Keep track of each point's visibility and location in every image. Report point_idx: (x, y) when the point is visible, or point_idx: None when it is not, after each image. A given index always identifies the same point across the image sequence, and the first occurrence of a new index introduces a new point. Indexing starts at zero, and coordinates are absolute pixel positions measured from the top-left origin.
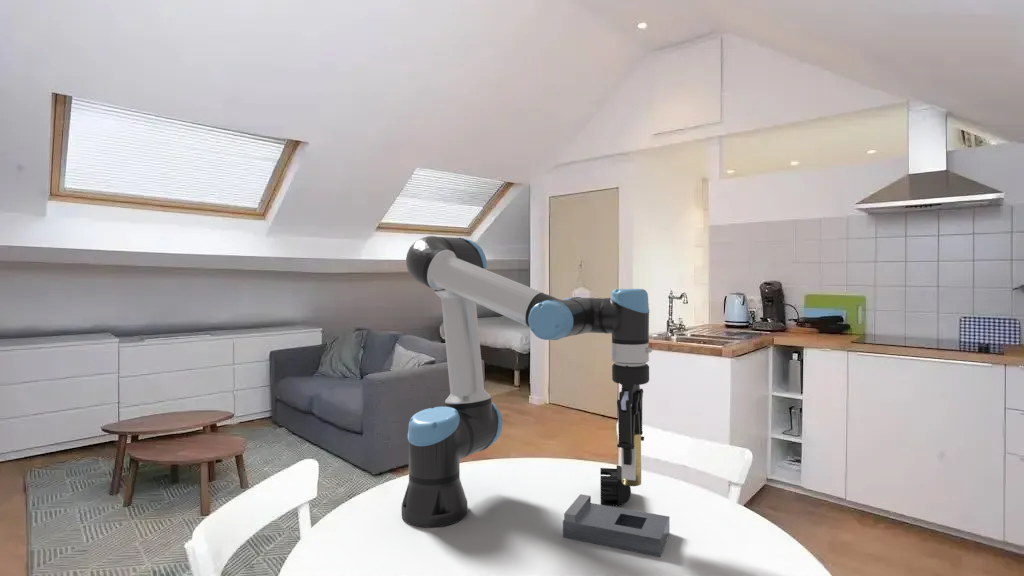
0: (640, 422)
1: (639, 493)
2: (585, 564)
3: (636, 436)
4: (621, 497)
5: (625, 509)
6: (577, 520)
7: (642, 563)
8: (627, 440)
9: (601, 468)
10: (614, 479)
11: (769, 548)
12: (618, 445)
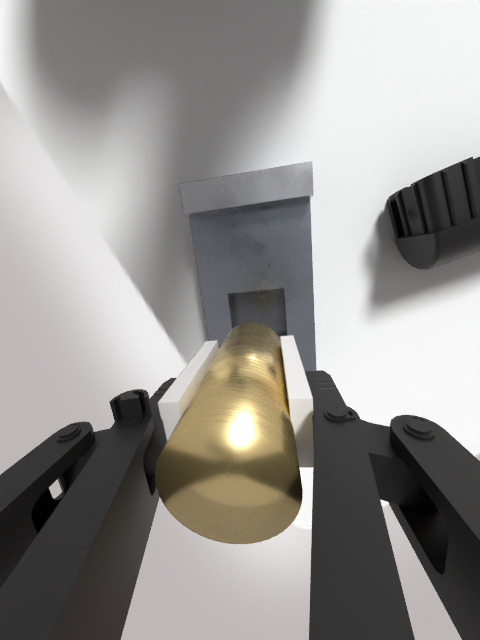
0: (452, 617)
1: None
2: (137, 275)
3: (206, 523)
4: (405, 247)
5: (310, 290)
6: (203, 216)
7: (189, 350)
8: (34, 513)
9: None
10: (450, 215)
11: None
12: (114, 405)
